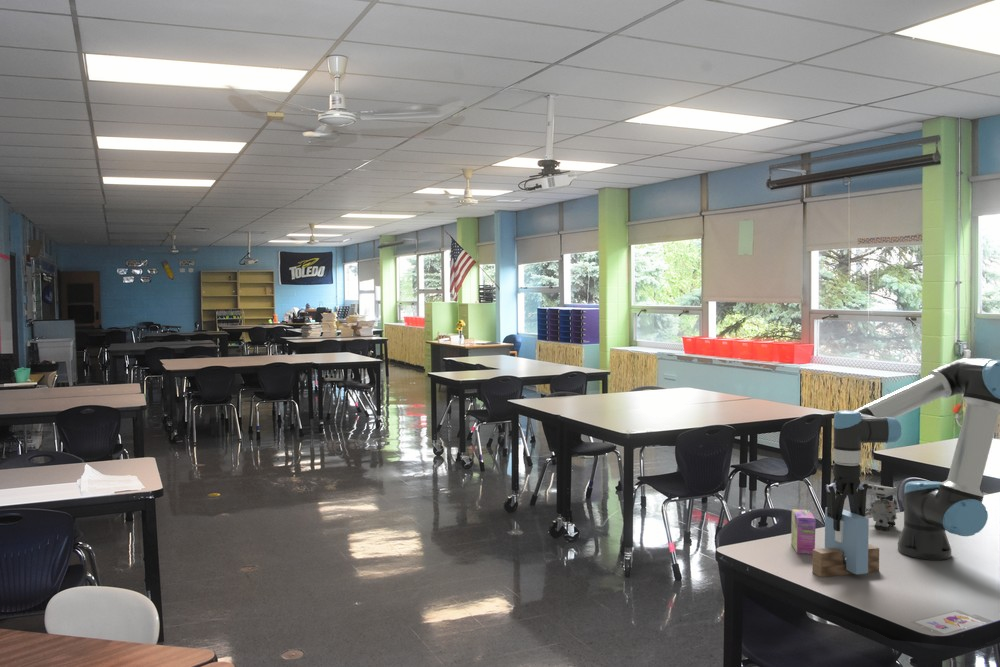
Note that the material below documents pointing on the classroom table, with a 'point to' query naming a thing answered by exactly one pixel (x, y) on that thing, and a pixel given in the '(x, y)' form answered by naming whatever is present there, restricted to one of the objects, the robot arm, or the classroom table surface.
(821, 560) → the rail
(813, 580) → the classroom table surface
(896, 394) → the robot arm
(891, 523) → the figurine
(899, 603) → the classroom table surface
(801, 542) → the box
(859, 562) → the board
